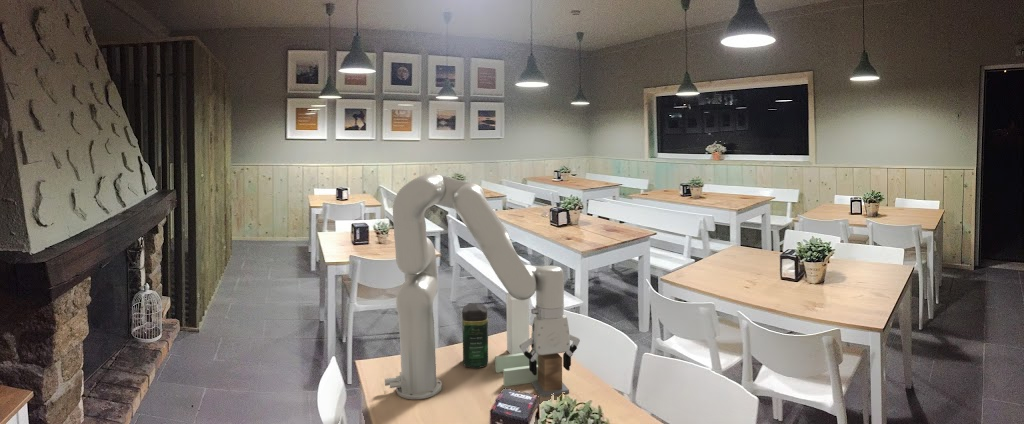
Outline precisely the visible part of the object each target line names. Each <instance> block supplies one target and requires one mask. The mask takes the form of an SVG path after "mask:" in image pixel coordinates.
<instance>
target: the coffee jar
mask: <svg viewBox="0 0 1024 424" xmlns="http://www.w3.org/2000/svg"><path fill="white" fill-rule="evenodd" d="M461 312H462V313H461V314H462V316H461V317H462V318H461V321H462V363H463V366H464V367H466V368H471V369H479V368H482V367H486V366H487V365H488V363H489V321H488V319H489V318H488V317H489V316H488V308H487V306H485V305H484V304H482V303H481V302H469V303H467V304H466V305H465V306H463V307H462V311H461Z"/></svg>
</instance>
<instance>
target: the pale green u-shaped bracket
mask: <svg viewBox="0 0 1024 424" xmlns="http://www.w3.org/2000/svg"><path fill="white" fill-rule="evenodd" d="M529 353H530V352H529ZM535 360H536V362H537V375H533V373H532V372H531V371H530V370H529V359H528V358H527V357H526V356H525V355H524V354H523V353H518V354H510V353H509V354H504V355H496V356H494V371H495V373H498V374H499V373H502V374H503V377H502V378H503V381H502V382H503V384H502V385H503V386H504V387H511V386H518V385H525V384H532V381H538V356H537V358H536V359H535Z"/></svg>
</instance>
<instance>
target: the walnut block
mask: <svg viewBox="0 0 1024 424" xmlns="http://www.w3.org/2000/svg"><path fill="white" fill-rule="evenodd" d="M562 382H563V356H561V355H560V353H556V354H549V355H538V383H539V384H540V386H541V387H542V388H543V390H544V391H545V392H546V391H552V390H559V389H562Z"/></svg>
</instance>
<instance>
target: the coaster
mask: <svg viewBox="0 0 1024 424" xmlns="http://www.w3.org/2000/svg"><path fill="white" fill-rule="evenodd" d="M531 384H532V386H533V387H534V389H535V390H536V392H537V393H538V395H539V396H540V397H541V398H543V397H549V396H552V395H551V394H553V393H554V394H557V395H562V394H561V393H562V392H565V393H564V394H569V393H570V389H569V388H568V387H567V386H566V384H565V383H564V382H563V381H562V389H559V390H552V391H546V392H545V391H544V390H543V388H542V387H541V386H540V384H539V383H538V381H532V383H531Z"/></svg>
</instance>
